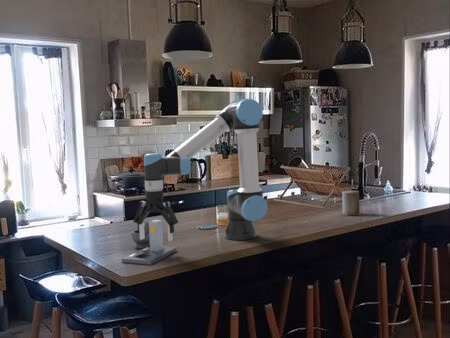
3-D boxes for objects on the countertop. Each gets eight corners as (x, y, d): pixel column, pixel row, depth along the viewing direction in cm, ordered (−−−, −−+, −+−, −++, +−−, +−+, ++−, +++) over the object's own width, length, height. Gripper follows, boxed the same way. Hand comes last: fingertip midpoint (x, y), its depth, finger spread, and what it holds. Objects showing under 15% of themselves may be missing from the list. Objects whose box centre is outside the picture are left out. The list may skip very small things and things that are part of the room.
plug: (163, 252, 207) (161, 220, 206) (157, 255, 203) (156, 222, 201) (155, 251, 208) (153, 219, 207) (149, 254, 204) (147, 221, 203)
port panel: (150, 249, 213) (149, 245, 213) (176, 251, 209) (176, 247, 208) (121, 262, 193) (121, 258, 193) (150, 264, 188) (150, 260, 188)
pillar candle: (363, 214, 281) (362, 188, 280) (351, 216, 276) (351, 190, 275) (350, 212, 289) (349, 187, 288) (338, 214, 284) (338, 189, 283)
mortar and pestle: (128, 246, 220) (127, 220, 219) (146, 242, 226) (145, 217, 225) (141, 250, 212) (140, 223, 211) (159, 246, 218) (158, 220, 217)
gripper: (123, 190, 205) (126, 240, 206) (176, 191, 196) (178, 243, 197) (133, 188, 212) (135, 236, 213) (184, 189, 203) (186, 239, 204)
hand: (156, 239), depth 205 cm, fingers open, 13 cm apart
